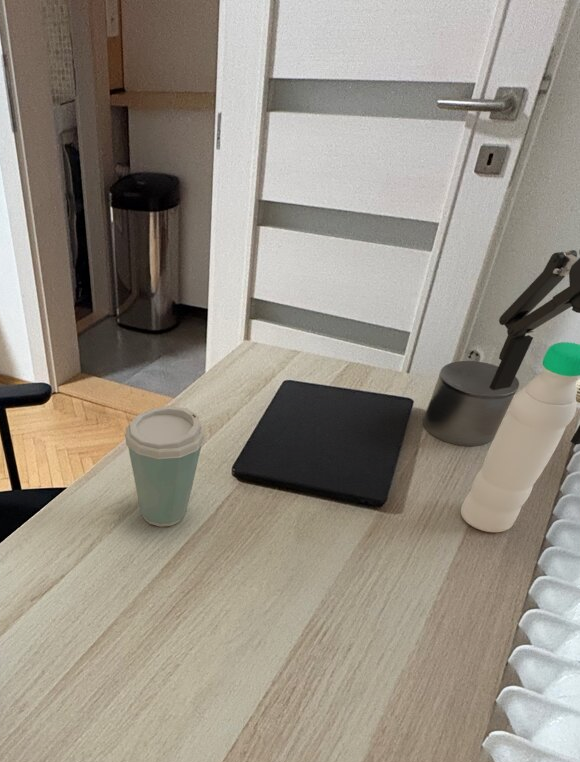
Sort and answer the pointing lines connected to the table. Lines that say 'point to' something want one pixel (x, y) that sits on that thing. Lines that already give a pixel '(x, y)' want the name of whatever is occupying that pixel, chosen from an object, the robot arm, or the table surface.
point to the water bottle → (525, 441)
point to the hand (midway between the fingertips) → (538, 413)
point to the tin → (467, 404)
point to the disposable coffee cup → (164, 461)
